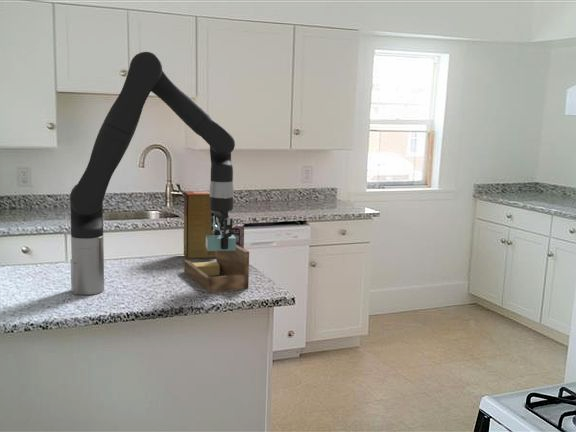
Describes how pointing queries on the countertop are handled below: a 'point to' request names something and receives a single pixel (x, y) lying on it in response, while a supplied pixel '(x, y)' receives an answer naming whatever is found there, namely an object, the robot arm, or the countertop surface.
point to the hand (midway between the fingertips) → (220, 246)
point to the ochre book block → (209, 267)
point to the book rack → (224, 271)
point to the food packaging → (197, 224)
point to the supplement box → (238, 234)
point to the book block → (219, 243)
